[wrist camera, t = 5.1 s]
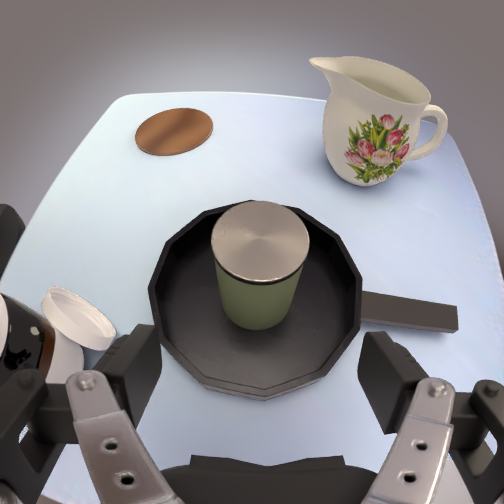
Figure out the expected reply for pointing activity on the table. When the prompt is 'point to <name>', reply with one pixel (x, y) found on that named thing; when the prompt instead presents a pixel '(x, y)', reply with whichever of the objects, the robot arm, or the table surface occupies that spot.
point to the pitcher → (374, 118)
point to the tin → (258, 262)
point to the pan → (282, 334)
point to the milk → (452, 487)
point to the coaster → (173, 131)
